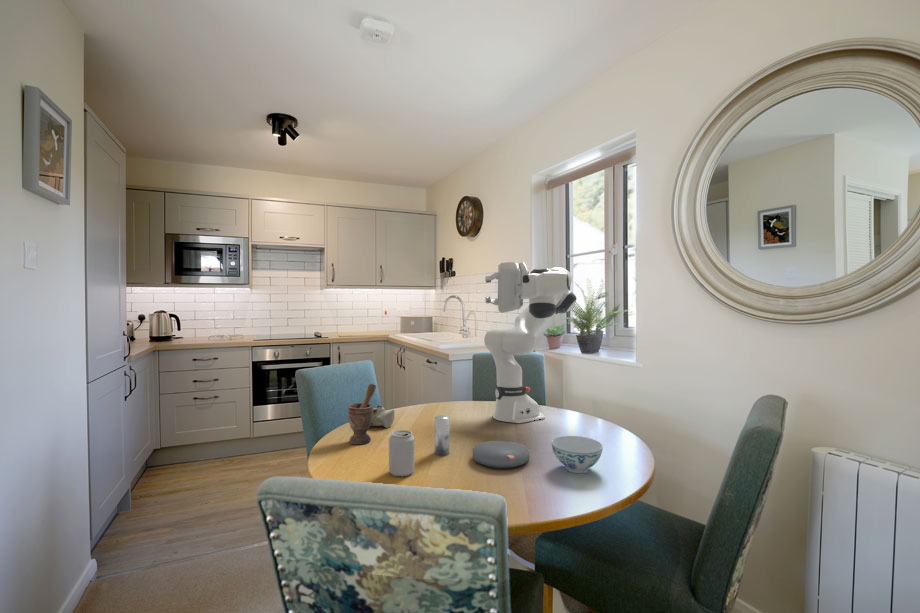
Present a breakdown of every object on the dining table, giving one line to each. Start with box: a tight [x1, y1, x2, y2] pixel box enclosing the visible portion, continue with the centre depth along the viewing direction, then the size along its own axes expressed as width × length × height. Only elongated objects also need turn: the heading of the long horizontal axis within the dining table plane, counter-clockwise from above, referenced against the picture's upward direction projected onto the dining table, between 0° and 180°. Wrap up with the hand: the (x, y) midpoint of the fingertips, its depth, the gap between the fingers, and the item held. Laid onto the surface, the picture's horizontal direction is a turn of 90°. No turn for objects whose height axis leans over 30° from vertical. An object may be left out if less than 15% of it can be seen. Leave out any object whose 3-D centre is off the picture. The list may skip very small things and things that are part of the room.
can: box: [388, 429, 416, 478], centre depth 126 cm, size 8×8×12 cm
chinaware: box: [551, 435, 604, 474], centre depth 129 cm, size 15×15×8 cm
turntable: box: [472, 440, 530, 468], centre depth 136 cm, size 18×18×3 cm
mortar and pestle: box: [347, 383, 377, 445], centre depth 156 cm, size 12×9×20 cm
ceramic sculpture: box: [371, 405, 395, 429], centre depth 174 cm, size 11×9×15 cm
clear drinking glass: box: [434, 414, 451, 457], centre depth 142 cm, size 5×5×12 cm
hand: (485, 290), depth 150 cm, fingers open, 8 cm apart
